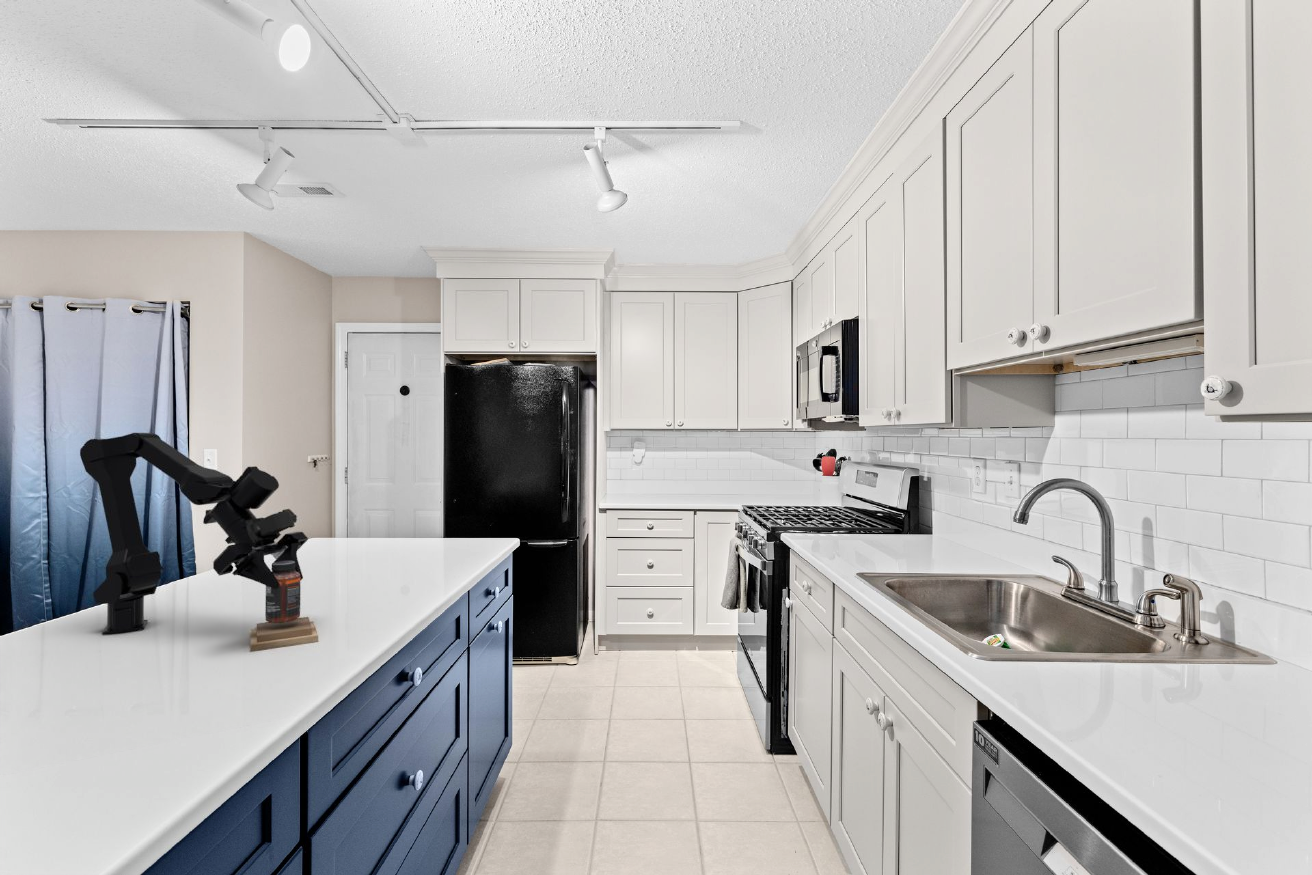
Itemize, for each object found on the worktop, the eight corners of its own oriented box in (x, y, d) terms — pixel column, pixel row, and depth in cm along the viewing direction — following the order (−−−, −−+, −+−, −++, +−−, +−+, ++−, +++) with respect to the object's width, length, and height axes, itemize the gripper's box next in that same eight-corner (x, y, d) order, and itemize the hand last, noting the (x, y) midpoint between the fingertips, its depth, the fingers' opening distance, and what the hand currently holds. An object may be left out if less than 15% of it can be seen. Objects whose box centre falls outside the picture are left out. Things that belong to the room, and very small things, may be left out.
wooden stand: (250, 635, 125) (250, 622, 125) (313, 626, 131) (313, 614, 131) (250, 651, 115) (250, 638, 115) (318, 641, 121) (318, 628, 121)
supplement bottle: (305, 615, 126) (306, 559, 126) (291, 623, 120) (292, 565, 120) (274, 615, 126) (275, 559, 126) (258, 624, 120) (259, 565, 120)
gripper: (228, 502, 114) (281, 565, 113) (300, 493, 133) (347, 547, 131) (189, 543, 115) (241, 606, 114) (266, 528, 134) (312, 583, 132)
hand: (289, 583), depth 123 cm, fingers closed on supplement bottle, 6 cm apart
